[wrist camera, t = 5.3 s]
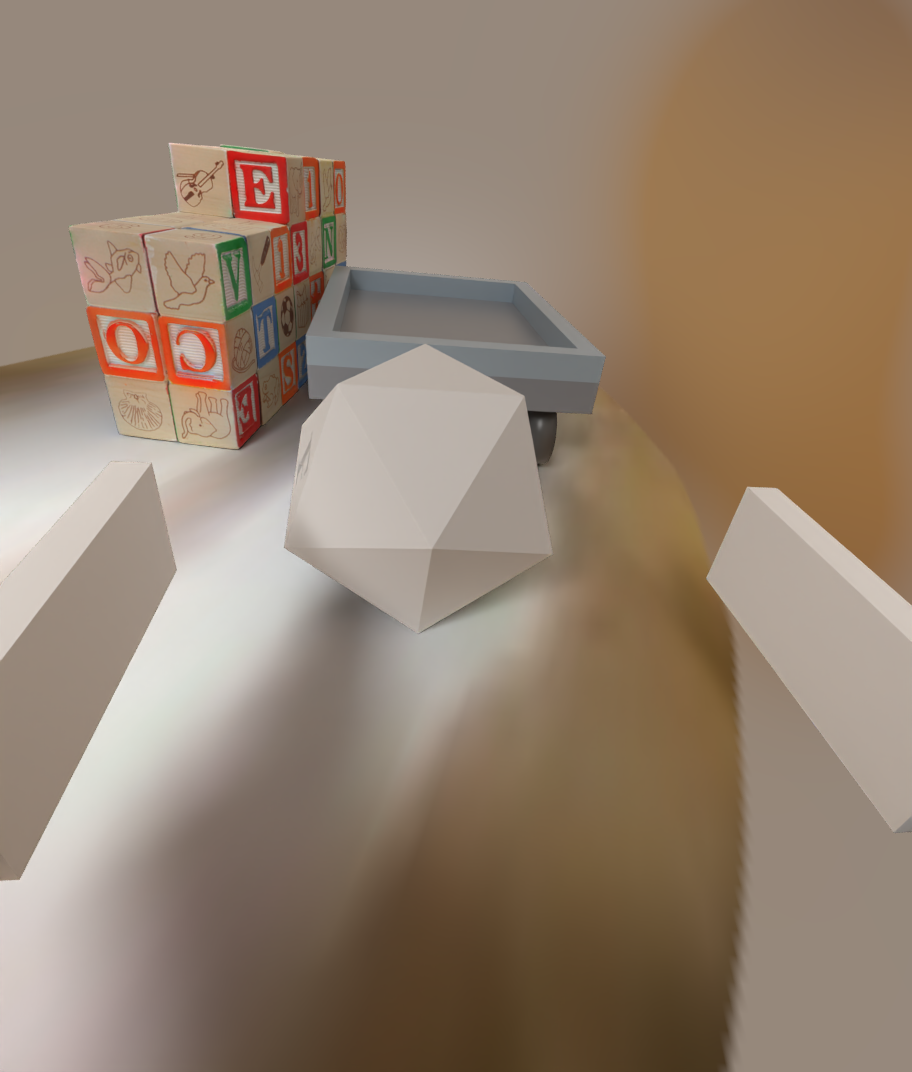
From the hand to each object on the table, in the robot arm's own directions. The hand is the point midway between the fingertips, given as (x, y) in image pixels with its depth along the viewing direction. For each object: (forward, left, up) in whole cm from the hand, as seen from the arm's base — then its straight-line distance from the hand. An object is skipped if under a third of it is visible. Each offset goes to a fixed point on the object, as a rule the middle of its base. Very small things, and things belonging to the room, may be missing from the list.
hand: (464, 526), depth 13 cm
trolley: (+1, +22, -6) cm, 23 cm away
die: (-1, +6, -6) cm, 8 cm away
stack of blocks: (-10, +26, -6) cm, 29 cm away
